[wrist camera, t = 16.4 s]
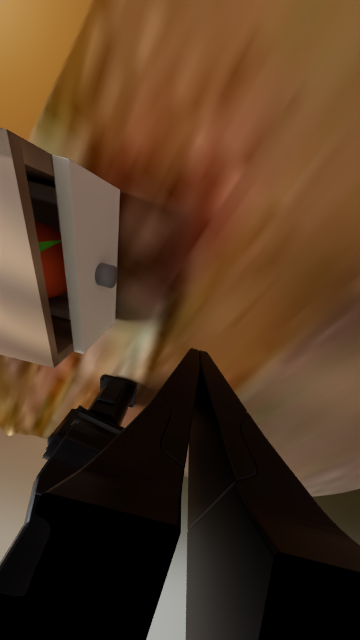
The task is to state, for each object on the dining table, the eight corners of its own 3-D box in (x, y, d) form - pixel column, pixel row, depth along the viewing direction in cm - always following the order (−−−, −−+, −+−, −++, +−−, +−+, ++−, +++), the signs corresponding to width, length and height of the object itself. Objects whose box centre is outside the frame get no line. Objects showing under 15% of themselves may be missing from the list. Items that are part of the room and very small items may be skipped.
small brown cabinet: (110, 318, 23) (53, 367, 14) (22, 295, 23) (-89, 331, 14) (113, 189, 16) (6, 129, 7) (-13, 157, 16) (-274, 56, 7)
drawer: (123, 324, 22) (94, 356, 16) (25, 300, 22) (-39, 322, 16) (132, 193, 15) (88, 163, 9) (-10, 156, 15) (-145, 103, 9)
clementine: (74, 203, 16) (-10, 179, 9) (114, 270, 18) (69, 286, 12) (22, 240, 18) (-73, 241, 12) (64, 295, 21) (4, 321, 14)
